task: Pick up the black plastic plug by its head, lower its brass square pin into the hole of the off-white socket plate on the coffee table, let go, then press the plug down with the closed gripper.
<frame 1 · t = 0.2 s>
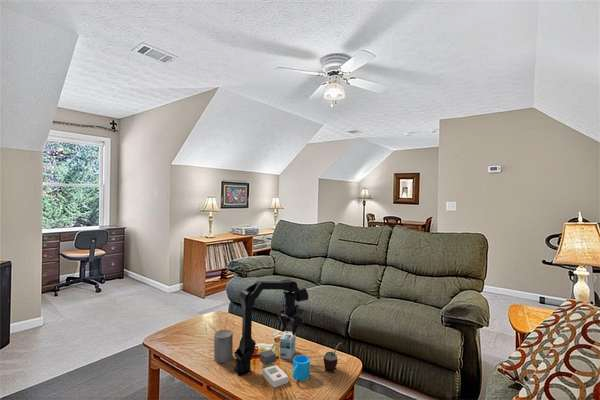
hand: (289, 331, 171), 14 cm above the table, tool pointing down, fingers open, 9 cm apart
mug: (299, 378, 152), on the table
plug: (267, 366, 162), on the table
mate gourd: (331, 370, 160), on the table
socket: (274, 378, 151), on the table
pillar candle: (223, 359, 169), on the table
light bulb box: (287, 354, 175), on the table
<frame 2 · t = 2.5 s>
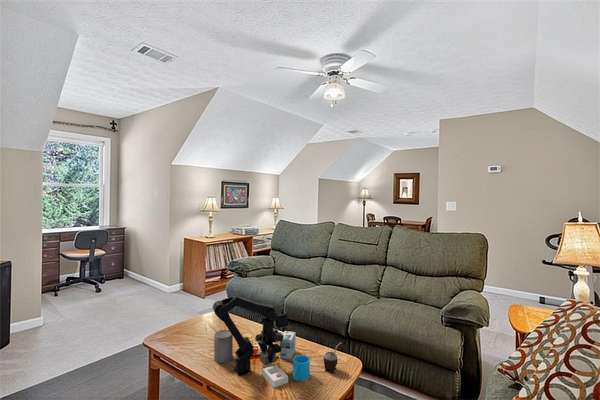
hand: (267, 359, 162), 3 cm above the table, tool pointing down, fingers closed on plug, 6 cm apart
plug: (267, 366, 162), on the table, touching gripper
everything else where it was.
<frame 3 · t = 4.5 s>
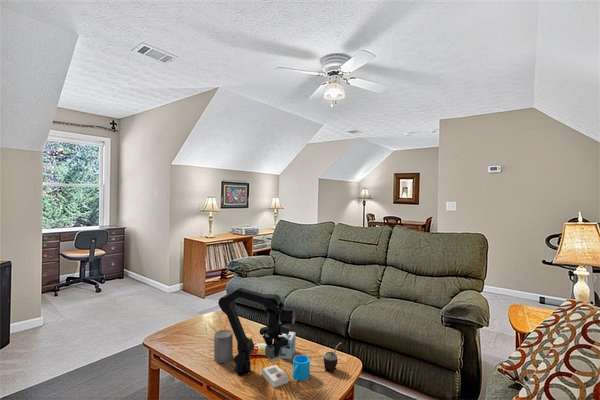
hand: (273, 353, 153), 11 cm above the table, tool pointing down, fingers closed on plug, 6 cm apart
plug: (273, 360, 153), point 8 cm above the table, touching gripper
everything else where it was.
when the fingers open (4 cm above the table, at t = 6.5 s): plug stays where it is, resting on socket.
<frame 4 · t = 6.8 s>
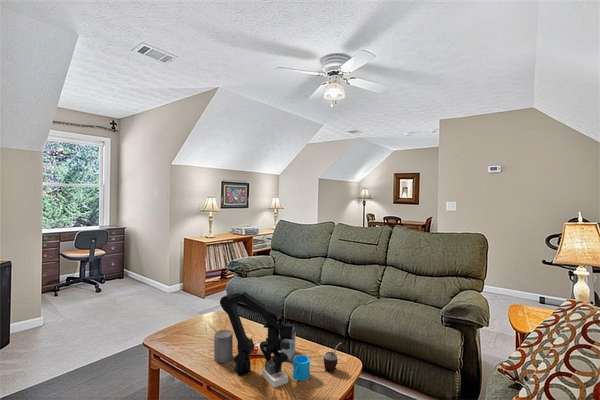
hand: (272, 368, 153), 4 cm above the table, tool pointing down, fingers open, 8 cm apart
plug: (273, 375, 153), resting on socket
everything else where it was.
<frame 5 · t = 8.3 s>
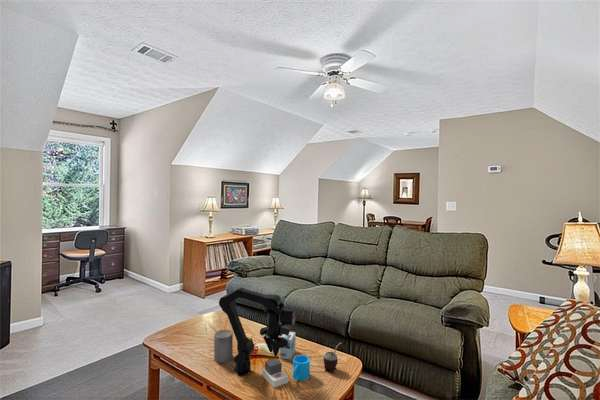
hand: (273, 354, 153), 11 cm above the table, tool pointing down, fingers open, 5 cm apart
nothing on the table moved.
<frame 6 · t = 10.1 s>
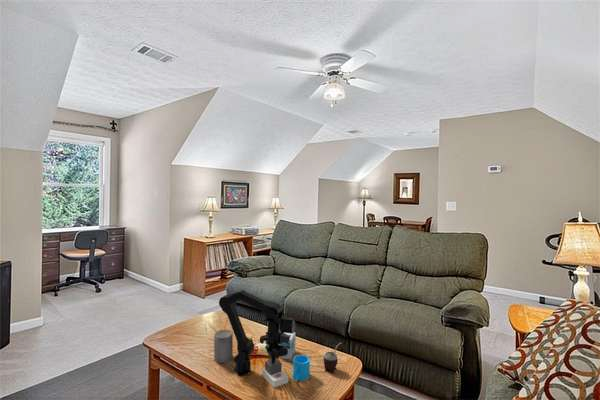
hand: (273, 362, 153), 7 cm above the table, tool pointing down, fingers closed, pressing on plug
plug: (273, 375, 153), resting on socket, touching gripper
everything else where it was.
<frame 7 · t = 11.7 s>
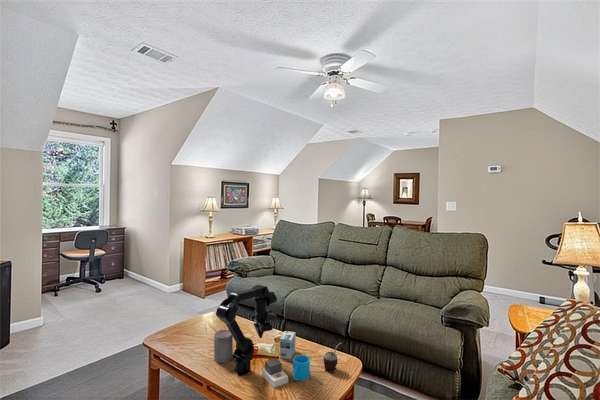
hand: (260, 337, 168), 12 cm above the table, tool pointing down, fingers closed
plug: (273, 375, 153), resting on socket
everything else where it was.
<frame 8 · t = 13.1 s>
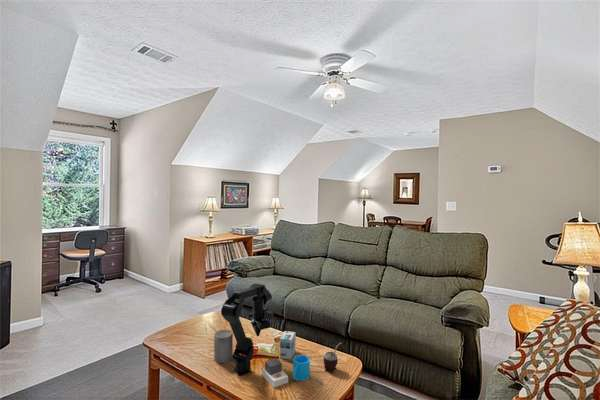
hand: (257, 336, 170), 12 cm above the table, tool pointing down, fingers closed
nothing on the table moved.
at the end: plug 0.1 cm from the target spot on the socket, point 0.4 cm above the socket's base; plug tilted 0°; the gripper is holding nothing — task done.
